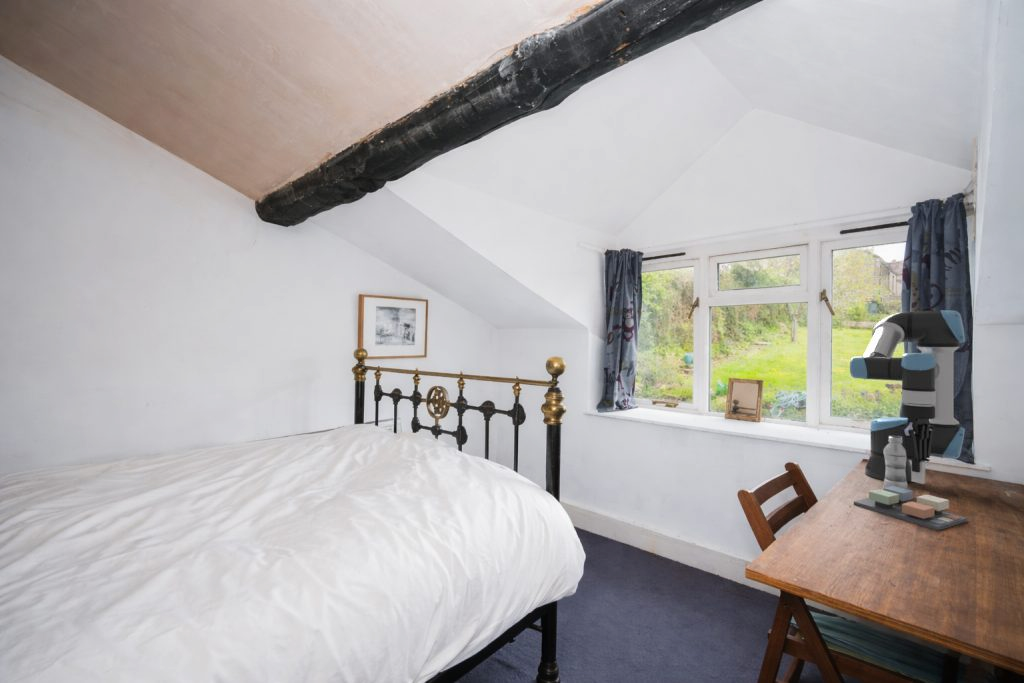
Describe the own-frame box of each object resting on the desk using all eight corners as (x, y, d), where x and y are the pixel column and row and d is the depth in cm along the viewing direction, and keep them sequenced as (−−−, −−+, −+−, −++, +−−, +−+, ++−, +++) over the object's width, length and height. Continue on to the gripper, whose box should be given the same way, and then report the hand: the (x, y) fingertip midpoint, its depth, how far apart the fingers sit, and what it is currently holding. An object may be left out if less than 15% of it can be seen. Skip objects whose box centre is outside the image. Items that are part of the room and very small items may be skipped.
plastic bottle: (913, 496, 156) (913, 438, 156) (893, 496, 156) (893, 438, 156) (897, 490, 162) (897, 434, 162) (878, 490, 162) (878, 434, 162)
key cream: (926, 502, 143) (926, 494, 143) (948, 508, 138) (948, 500, 138) (916, 504, 141) (916, 496, 141) (939, 511, 136) (939, 502, 136)
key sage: (879, 496, 148) (879, 489, 148) (898, 502, 143) (898, 494, 143) (868, 499, 146) (868, 491, 146) (888, 504, 141) (888, 496, 141)
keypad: (882, 497, 155) (882, 488, 155) (967, 521, 135) (967, 511, 135) (853, 504, 149) (853, 495, 149) (937, 530, 129) (937, 520, 129)
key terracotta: (912, 509, 140) (912, 501, 140) (934, 515, 135) (934, 507, 135) (901, 512, 138) (901, 504, 138) (924, 518, 133) (924, 510, 133)
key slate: (893, 493, 151) (893, 485, 151) (913, 498, 146) (913, 490, 146) (883, 495, 149) (883, 488, 149) (903, 501, 144) (903, 493, 144)
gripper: (915, 401, 142) (915, 475, 142) (890, 404, 137) (891, 481, 137) (945, 404, 135) (945, 482, 135) (921, 407, 130) (921, 489, 130)
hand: (918, 482), depth 136 cm, fingers closed
